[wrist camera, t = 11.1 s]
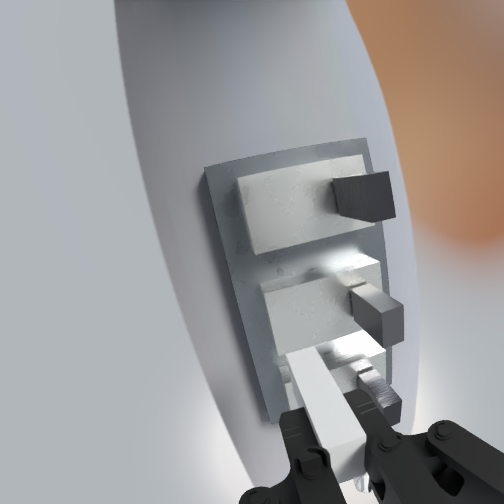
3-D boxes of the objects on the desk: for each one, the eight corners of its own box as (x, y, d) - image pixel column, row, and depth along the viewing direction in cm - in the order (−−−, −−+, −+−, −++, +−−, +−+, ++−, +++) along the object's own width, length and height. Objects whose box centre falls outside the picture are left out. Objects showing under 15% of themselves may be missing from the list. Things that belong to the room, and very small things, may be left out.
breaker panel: (205, 169, 23) (196, 154, 14) (355, 141, 24) (420, 120, 15) (268, 411, 28) (285, 481, 19) (383, 374, 29) (428, 426, 20)
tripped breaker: (350, 289, 21) (381, 313, 17) (369, 283, 21) (403, 305, 17) (354, 320, 22) (383, 348, 17) (372, 314, 22) (404, 340, 17)
